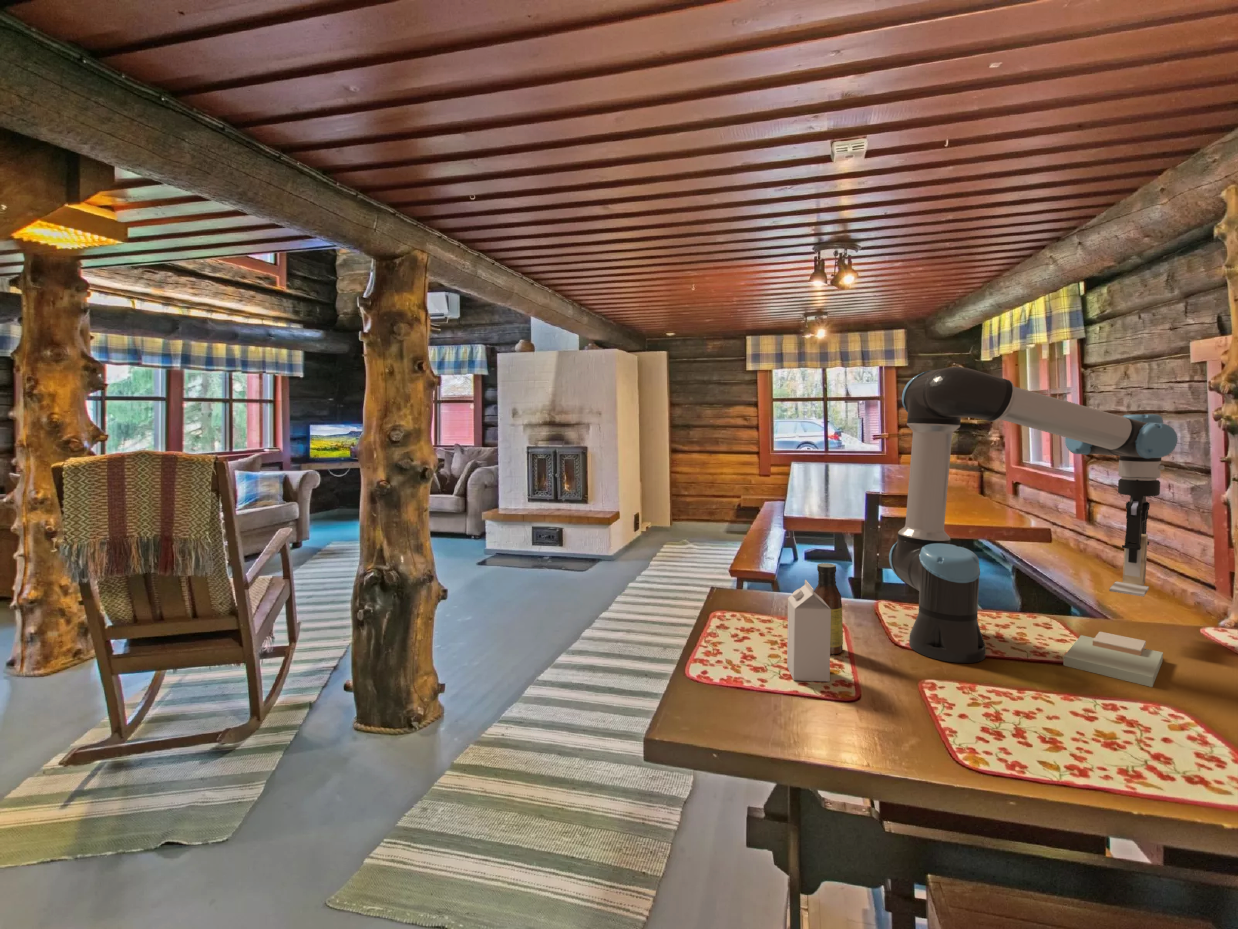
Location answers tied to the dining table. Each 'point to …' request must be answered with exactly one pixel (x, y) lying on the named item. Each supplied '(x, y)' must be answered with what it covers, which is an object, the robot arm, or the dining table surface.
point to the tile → (1119, 643)
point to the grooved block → (1114, 662)
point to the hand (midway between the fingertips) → (1134, 572)
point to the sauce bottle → (831, 603)
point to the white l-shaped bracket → (1134, 583)
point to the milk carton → (808, 636)
